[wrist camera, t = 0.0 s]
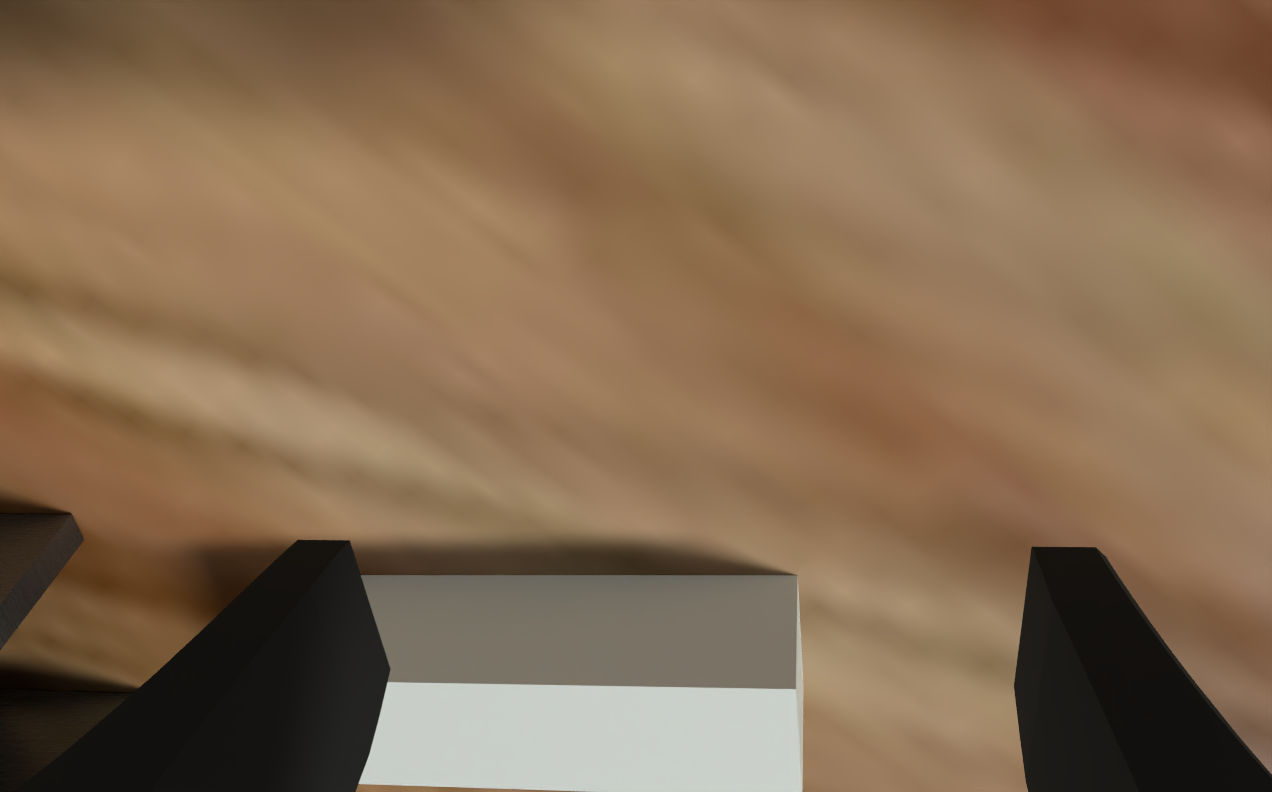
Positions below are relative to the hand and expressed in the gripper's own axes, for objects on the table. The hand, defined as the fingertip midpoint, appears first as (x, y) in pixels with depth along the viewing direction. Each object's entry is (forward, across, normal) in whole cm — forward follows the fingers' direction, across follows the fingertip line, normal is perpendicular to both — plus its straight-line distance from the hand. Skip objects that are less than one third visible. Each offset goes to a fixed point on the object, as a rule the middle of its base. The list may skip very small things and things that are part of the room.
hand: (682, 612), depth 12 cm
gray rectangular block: (+10, +5, +11) cm, 16 cm away
